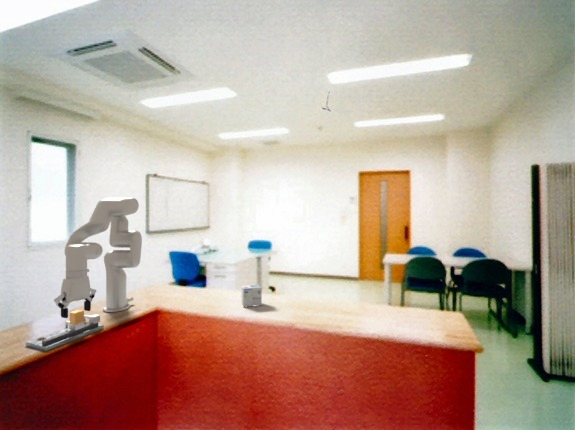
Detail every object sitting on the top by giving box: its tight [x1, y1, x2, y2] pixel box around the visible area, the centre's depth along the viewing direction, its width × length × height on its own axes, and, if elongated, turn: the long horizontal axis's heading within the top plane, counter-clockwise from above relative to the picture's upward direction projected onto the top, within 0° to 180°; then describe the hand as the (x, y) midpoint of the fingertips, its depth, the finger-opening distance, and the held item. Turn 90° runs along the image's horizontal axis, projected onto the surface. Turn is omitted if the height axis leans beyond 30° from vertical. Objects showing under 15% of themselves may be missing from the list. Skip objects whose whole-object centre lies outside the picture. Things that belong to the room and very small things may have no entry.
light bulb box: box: [241, 284, 263, 307], centre depth 176 cm, size 11×7×11 cm, turn 108°
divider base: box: [25, 314, 104, 352], centre depth 131 cm, size 24×12×6 cm, turn 159°
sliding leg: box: [64, 309, 85, 330], centre depth 133 cm, size 4×9×8 cm, turn 69°
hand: (76, 314), depth 131 cm, fingers open, 9 cm apart
